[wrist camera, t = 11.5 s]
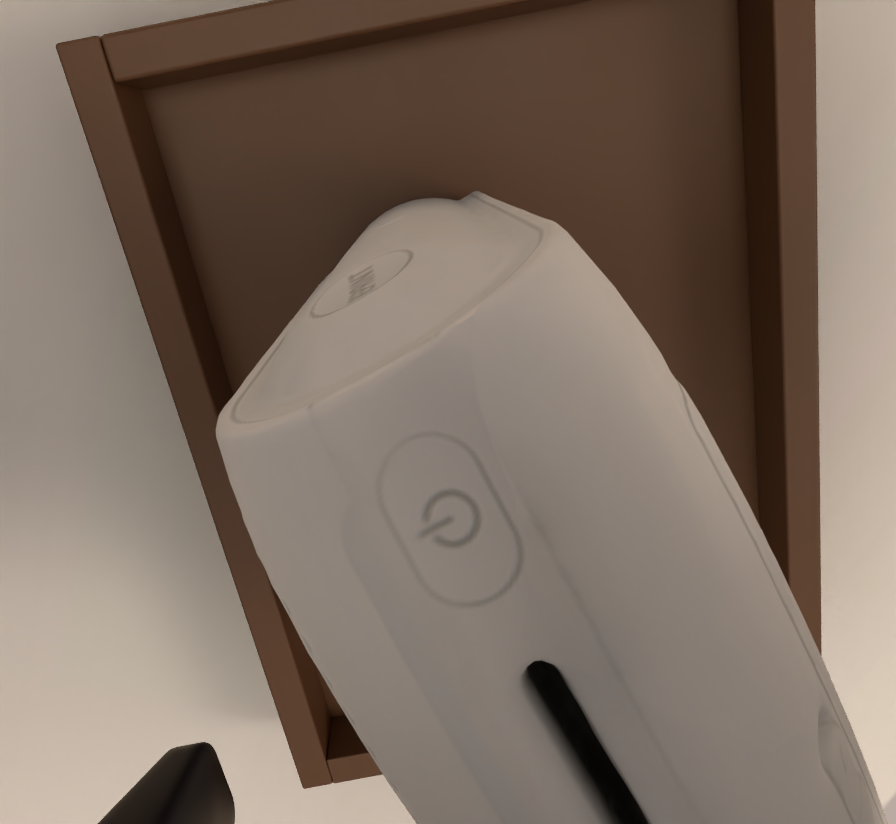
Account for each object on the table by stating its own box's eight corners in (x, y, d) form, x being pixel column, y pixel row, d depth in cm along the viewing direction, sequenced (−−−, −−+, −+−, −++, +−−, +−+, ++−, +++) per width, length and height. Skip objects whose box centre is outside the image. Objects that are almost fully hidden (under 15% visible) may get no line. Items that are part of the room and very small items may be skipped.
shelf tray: (313, 724, 21) (302, 790, 19) (104, 59, 15) (53, 43, 13) (779, 636, 21) (822, 692, 18) (755, -70, 15) (815, -110, 13)
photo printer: (299, 254, 16) (-21, 538, 4) (474, 152, 15) (699, 135, 3) (514, 603, 19) (686, 1328, 7) (664, 530, 18) (1110, 1179, 7)
